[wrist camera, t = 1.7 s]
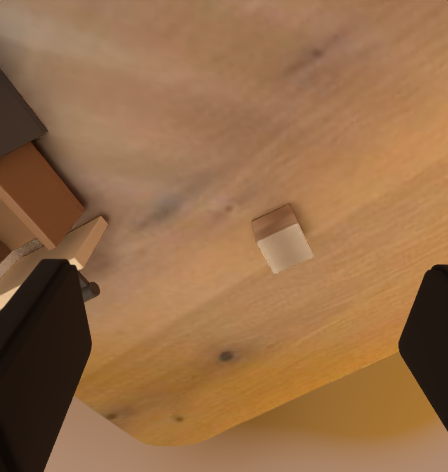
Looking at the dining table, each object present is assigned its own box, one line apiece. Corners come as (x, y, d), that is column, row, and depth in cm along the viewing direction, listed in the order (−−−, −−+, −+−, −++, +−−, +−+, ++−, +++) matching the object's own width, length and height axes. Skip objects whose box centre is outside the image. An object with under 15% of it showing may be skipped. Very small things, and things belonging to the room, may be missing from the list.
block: (289, 203, 36) (298, 222, 32) (304, 235, 38) (314, 257, 34) (251, 221, 37) (255, 242, 33) (268, 251, 39) (274, 274, 35)
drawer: (133, 255, 38) (115, 303, 31) (51, 295, 40) (17, 348, 33) (11, 101, 30) (-50, 119, 23) (-83, 163, 32) (-163, 197, 25)
